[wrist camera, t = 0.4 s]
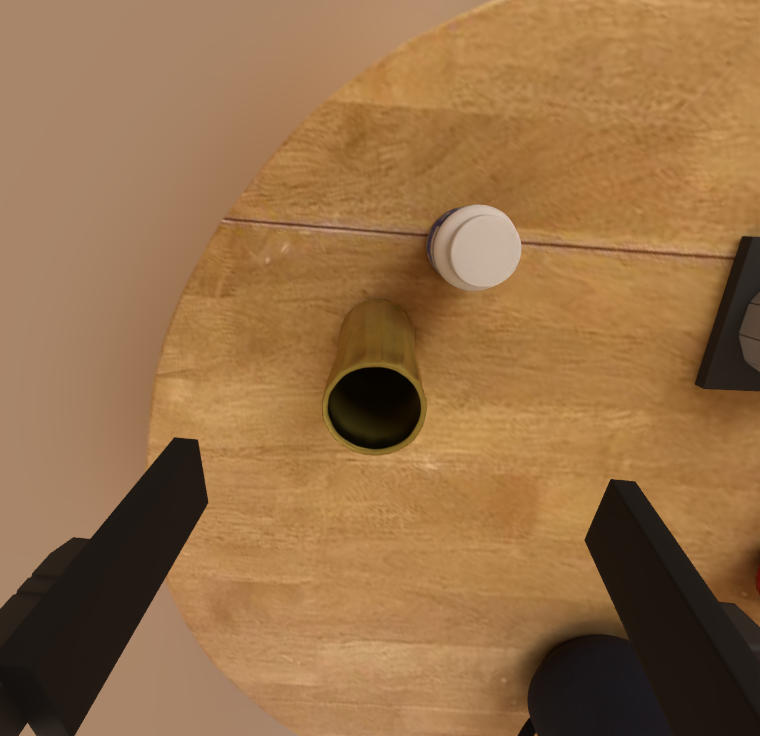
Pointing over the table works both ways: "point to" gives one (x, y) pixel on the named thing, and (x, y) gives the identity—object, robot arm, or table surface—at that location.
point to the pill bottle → (474, 247)
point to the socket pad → (736, 327)
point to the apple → (758, 580)
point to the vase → (375, 381)
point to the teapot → (593, 692)
